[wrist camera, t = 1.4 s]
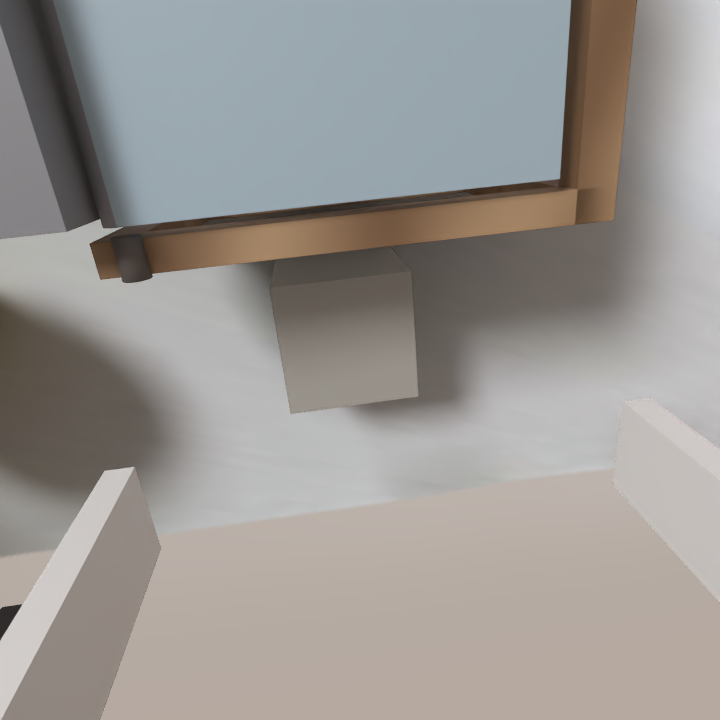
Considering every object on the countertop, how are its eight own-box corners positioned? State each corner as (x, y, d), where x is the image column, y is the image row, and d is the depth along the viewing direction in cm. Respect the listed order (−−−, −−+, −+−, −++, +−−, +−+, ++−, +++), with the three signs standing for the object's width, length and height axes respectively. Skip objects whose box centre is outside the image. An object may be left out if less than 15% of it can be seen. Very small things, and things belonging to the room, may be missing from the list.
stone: (292, 362, 29) (290, 413, 23) (275, 257, 27) (269, 288, 21) (396, 349, 29) (418, 396, 24) (388, 244, 27) (411, 271, 21)
